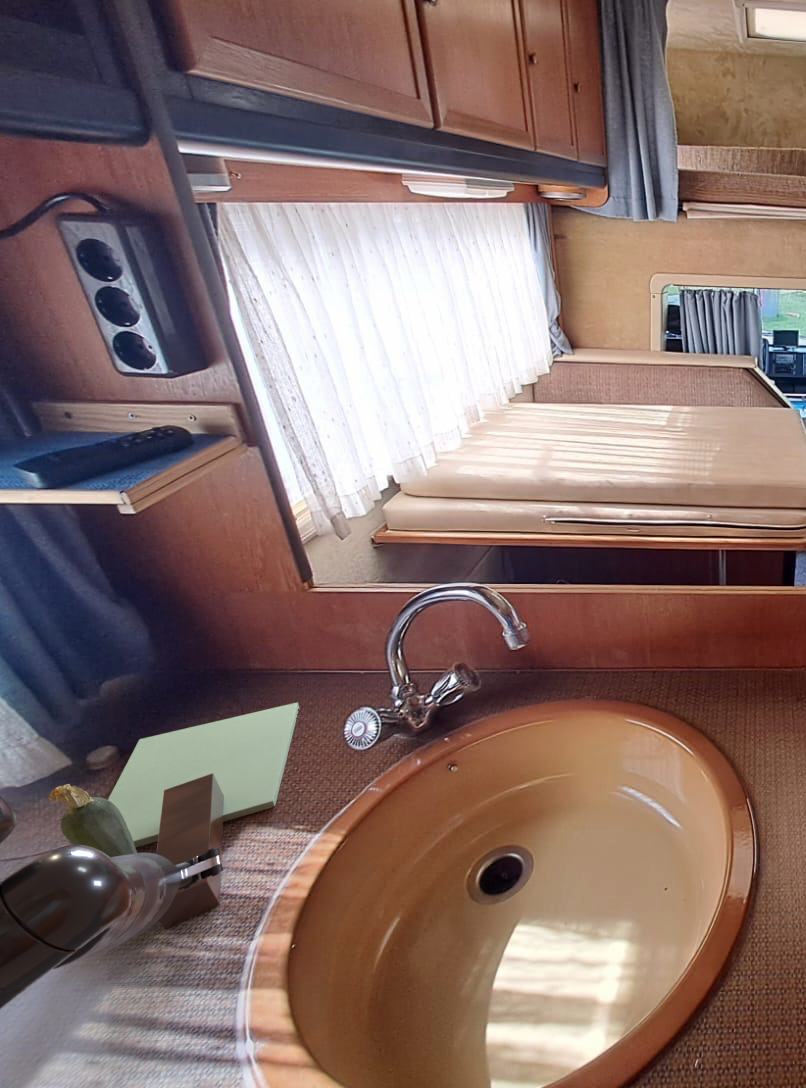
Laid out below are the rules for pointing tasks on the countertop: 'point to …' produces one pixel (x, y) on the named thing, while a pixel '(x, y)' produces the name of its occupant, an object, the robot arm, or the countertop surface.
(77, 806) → the vegetable
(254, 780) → the cutting board
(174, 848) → the walnut block
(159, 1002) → the countertop surface
